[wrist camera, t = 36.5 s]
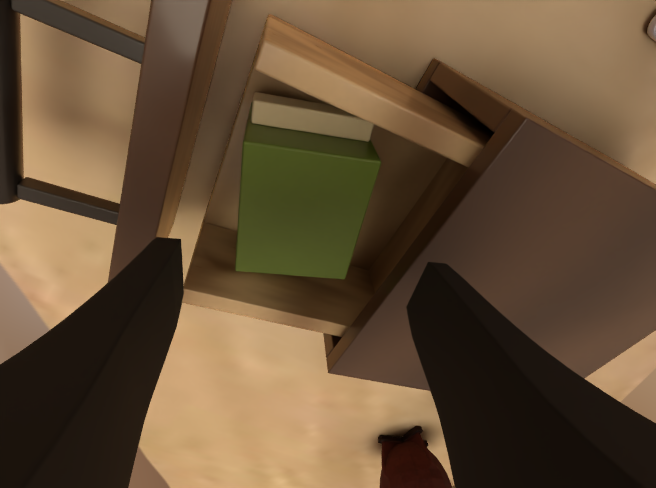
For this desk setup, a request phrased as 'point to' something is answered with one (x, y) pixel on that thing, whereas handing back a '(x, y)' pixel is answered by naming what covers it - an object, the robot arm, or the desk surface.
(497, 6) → the desk surface
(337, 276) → the green block
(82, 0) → the desk surface
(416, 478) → the mate gourd
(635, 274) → the cabinet
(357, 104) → the drawer
